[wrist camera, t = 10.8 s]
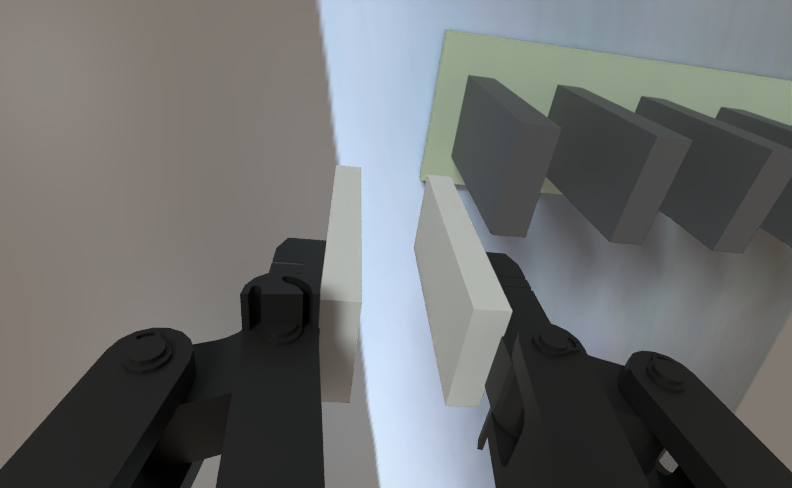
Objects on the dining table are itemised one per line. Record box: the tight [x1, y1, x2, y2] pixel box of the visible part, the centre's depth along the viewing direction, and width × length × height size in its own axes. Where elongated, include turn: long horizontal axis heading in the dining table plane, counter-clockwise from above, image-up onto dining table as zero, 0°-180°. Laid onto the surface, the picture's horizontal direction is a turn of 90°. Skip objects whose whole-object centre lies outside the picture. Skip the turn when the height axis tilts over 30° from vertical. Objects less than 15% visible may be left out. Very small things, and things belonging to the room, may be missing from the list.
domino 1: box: [451, 75, 562, 237], centre depth 23 cm, size 5×2×10 cm, turn 172°
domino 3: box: [635, 96, 792, 253], centre depth 24 cm, size 5×2×10 cm, turn 172°
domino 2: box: [546, 85, 693, 244], centre depth 23 cm, size 5×2×10 cm, turn 172°
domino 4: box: [715, 107, 792, 247], centre depth 25 cm, size 5×2×10 cm, turn 172°
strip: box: [419, 29, 792, 195], centre depth 28 cm, size 9×27×1 cm, turn 82°
